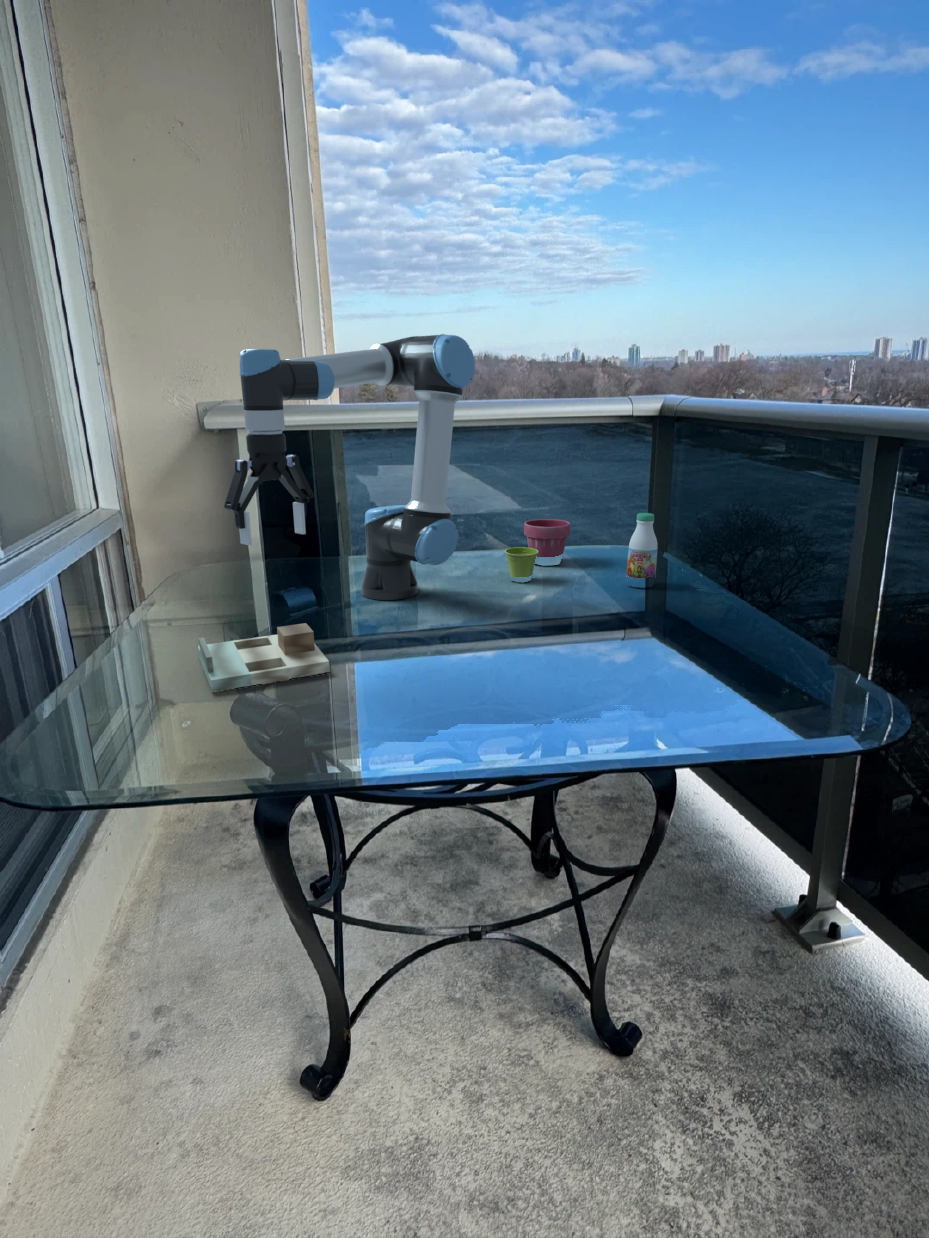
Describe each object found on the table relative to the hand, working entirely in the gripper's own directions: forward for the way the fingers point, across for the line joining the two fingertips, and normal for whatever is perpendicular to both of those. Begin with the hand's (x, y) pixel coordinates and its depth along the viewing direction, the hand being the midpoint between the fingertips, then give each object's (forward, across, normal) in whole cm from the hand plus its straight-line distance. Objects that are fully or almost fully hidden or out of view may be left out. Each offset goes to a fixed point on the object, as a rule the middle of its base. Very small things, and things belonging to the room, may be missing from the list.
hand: (274, 538), depth 152 cm
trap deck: (+23, +10, +6) cm, 26 cm away
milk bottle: (+24, -92, +39) cm, 103 cm away
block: (+21, +4, +9) cm, 23 cm away
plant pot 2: (+24, -98, +4) cm, 100 cm away
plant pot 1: (+24, -76, +10) cm, 80 cm away
